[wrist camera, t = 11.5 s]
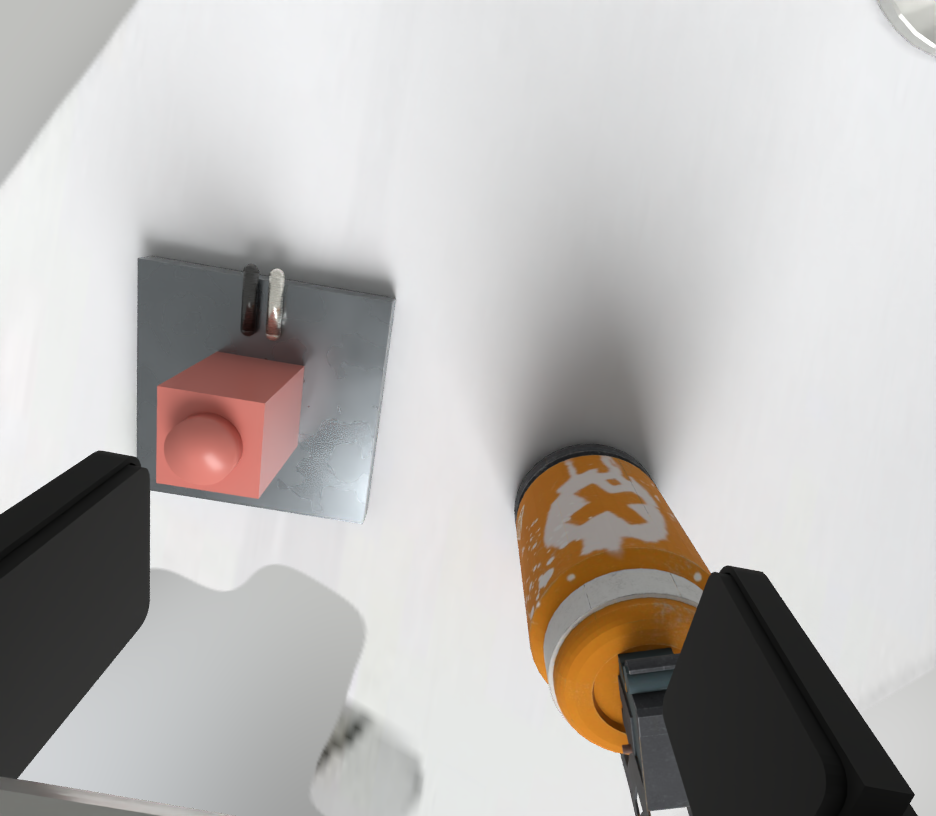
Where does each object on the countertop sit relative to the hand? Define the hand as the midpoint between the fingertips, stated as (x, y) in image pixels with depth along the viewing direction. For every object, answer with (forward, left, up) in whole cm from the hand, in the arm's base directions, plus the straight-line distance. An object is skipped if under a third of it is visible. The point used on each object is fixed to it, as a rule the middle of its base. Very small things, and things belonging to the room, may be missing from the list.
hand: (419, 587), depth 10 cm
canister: (+12, +10, -27) cm, 32 cm away
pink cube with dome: (+7, -11, -26) cm, 29 cm away
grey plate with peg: (+7, -11, -27) cm, 30 cm away
